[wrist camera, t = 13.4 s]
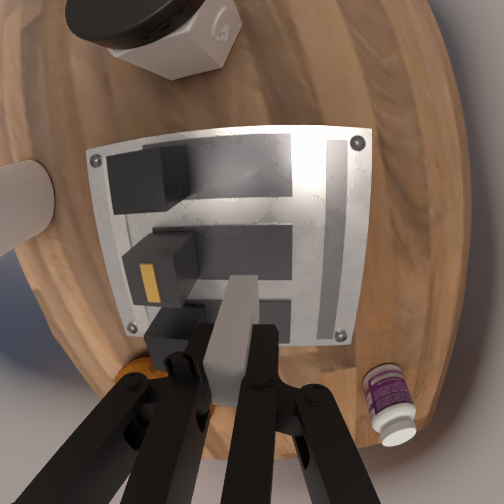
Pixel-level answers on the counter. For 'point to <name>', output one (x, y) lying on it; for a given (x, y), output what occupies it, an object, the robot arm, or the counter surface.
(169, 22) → the jar
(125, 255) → the handle
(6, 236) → the mug
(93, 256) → the counter surface
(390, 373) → the pill bottle
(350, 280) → the panel
